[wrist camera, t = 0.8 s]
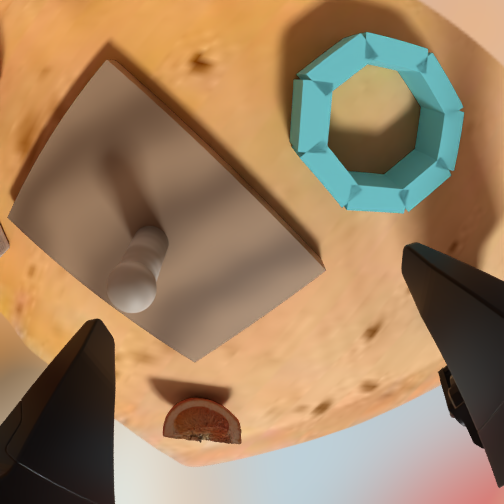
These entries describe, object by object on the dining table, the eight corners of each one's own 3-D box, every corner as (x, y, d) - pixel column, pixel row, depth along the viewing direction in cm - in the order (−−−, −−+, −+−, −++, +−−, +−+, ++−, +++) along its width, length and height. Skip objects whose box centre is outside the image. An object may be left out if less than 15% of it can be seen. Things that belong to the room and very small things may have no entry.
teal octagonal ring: (457, 137, 19) (482, 147, 16) (355, 222, 22) (369, 243, 20) (378, 13, 15) (400, 6, 12) (255, 108, 18) (258, 113, 16)
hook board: (321, 259, 24) (351, 334, 17) (196, 350, 28) (188, 424, 21) (115, 60, 16) (50, 57, 9) (17, 209, 20) (-41, 262, 14)
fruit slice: (245, 394, 32) (247, 433, 28) (234, 422, 36) (235, 457, 31) (168, 384, 31) (162, 423, 27) (166, 414, 34) (162, 448, 30)
